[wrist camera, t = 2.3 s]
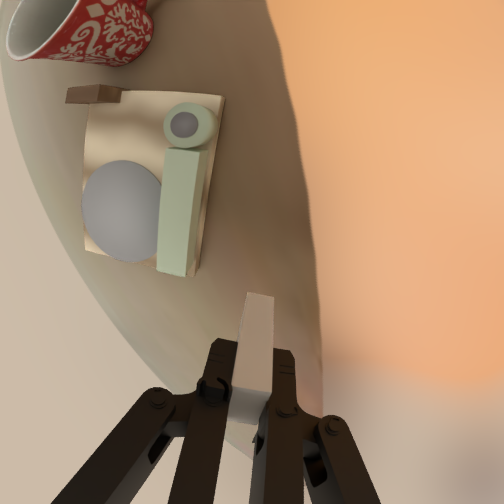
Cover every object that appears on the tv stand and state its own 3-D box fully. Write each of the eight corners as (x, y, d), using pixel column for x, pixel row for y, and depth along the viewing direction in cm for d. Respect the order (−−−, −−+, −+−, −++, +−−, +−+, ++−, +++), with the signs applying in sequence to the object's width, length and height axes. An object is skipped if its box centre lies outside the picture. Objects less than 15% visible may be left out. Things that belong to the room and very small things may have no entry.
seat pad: (83, 156, 23) (82, 157, 23) (176, 166, 23) (175, 167, 23) (85, 249, 28) (84, 250, 28) (167, 270, 28) (166, 271, 28)
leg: (181, 104, 21) (164, 100, 17) (221, 108, 21) (211, 103, 17) (164, 254, 27) (149, 274, 23) (198, 262, 27) (186, 283, 23)
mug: (117, 91, 22) (23, 81, 10) (79, 51, 20) (-4, 36, 7) (206, 8, 18) (158, -63, 6) (157, -25, 16) (100, -80, 3)
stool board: (102, 91, 22) (67, 88, 17) (225, 96, 22) (212, 85, 17) (94, 243, 30) (66, 265, 24) (198, 267, 30) (183, 298, 24)
